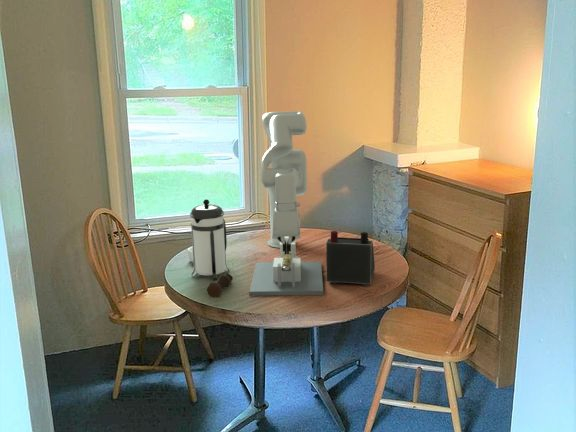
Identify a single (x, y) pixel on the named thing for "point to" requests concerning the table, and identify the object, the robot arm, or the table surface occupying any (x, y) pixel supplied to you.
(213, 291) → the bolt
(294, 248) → the block
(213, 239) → the coffee press
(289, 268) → the wooden building block
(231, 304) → the table surface
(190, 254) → the teacup
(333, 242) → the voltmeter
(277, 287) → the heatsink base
